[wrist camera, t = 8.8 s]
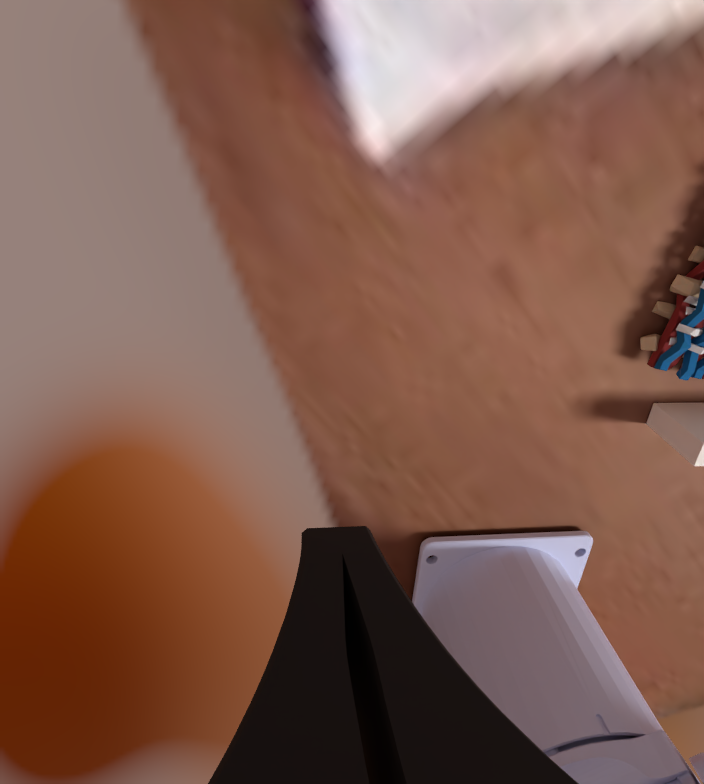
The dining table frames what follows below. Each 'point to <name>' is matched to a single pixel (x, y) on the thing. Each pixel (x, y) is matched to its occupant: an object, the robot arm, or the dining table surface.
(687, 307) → the woven mat
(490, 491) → the dining table surface
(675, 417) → the frame
